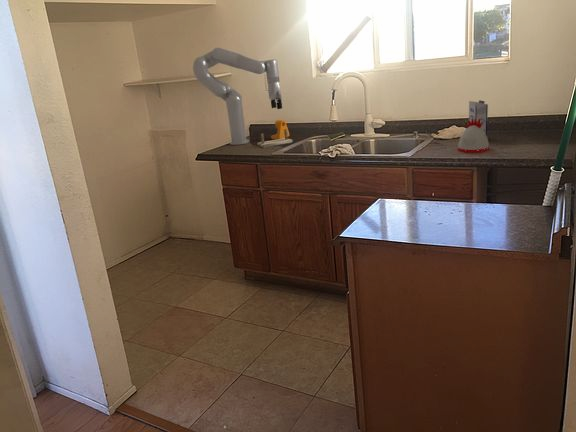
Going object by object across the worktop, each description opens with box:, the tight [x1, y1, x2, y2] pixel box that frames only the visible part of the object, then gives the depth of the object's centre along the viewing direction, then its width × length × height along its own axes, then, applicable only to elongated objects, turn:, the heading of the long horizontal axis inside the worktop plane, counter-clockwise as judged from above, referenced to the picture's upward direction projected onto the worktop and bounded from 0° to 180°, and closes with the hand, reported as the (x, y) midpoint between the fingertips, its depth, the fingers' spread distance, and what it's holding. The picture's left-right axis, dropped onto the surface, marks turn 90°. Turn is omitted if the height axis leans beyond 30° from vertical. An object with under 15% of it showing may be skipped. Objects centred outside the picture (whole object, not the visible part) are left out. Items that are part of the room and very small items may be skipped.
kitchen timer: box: [457, 118, 490, 154], centre depth 231 cm, size 14×14×15 cm
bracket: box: [270, 119, 290, 140], centre depth 314 cm, size 11×7×12 cm, turn 145°
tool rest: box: [257, 129, 293, 148], centre depth 299 cm, size 10×19×8 cm, turn 115°
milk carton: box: [468, 99, 489, 137], centre depth 252 cm, size 7×7×20 cm
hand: (276, 108), depth 309 cm, fingers open, 9 cm apart
